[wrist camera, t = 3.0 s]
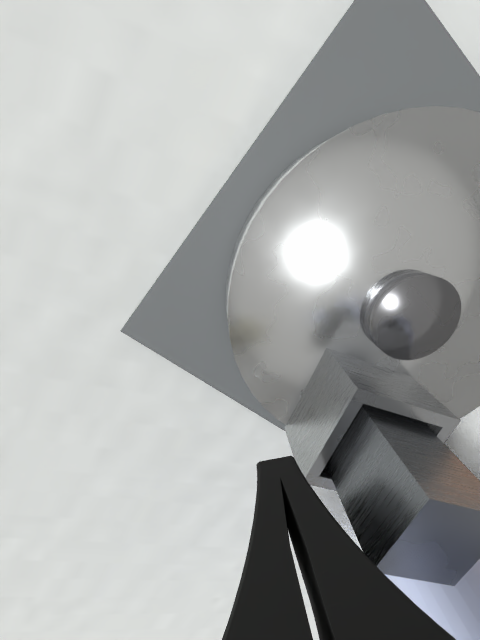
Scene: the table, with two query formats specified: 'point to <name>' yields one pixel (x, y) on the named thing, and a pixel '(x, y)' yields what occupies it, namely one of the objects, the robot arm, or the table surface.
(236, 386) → the base plate
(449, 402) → the metal pot lid
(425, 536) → the dark grey rectangular block
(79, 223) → the table surface
